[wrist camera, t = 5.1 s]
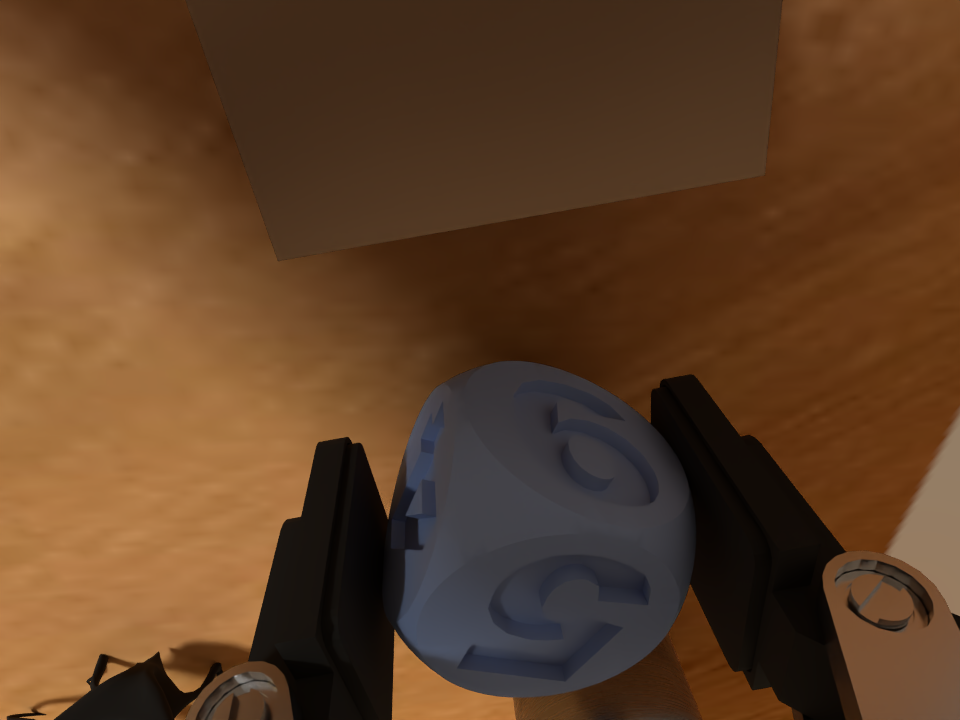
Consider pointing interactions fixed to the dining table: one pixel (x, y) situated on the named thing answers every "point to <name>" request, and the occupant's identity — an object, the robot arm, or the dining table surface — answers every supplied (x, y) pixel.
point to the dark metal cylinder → (623, 694)
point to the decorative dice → (535, 533)
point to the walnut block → (482, 107)
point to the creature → (131, 694)
